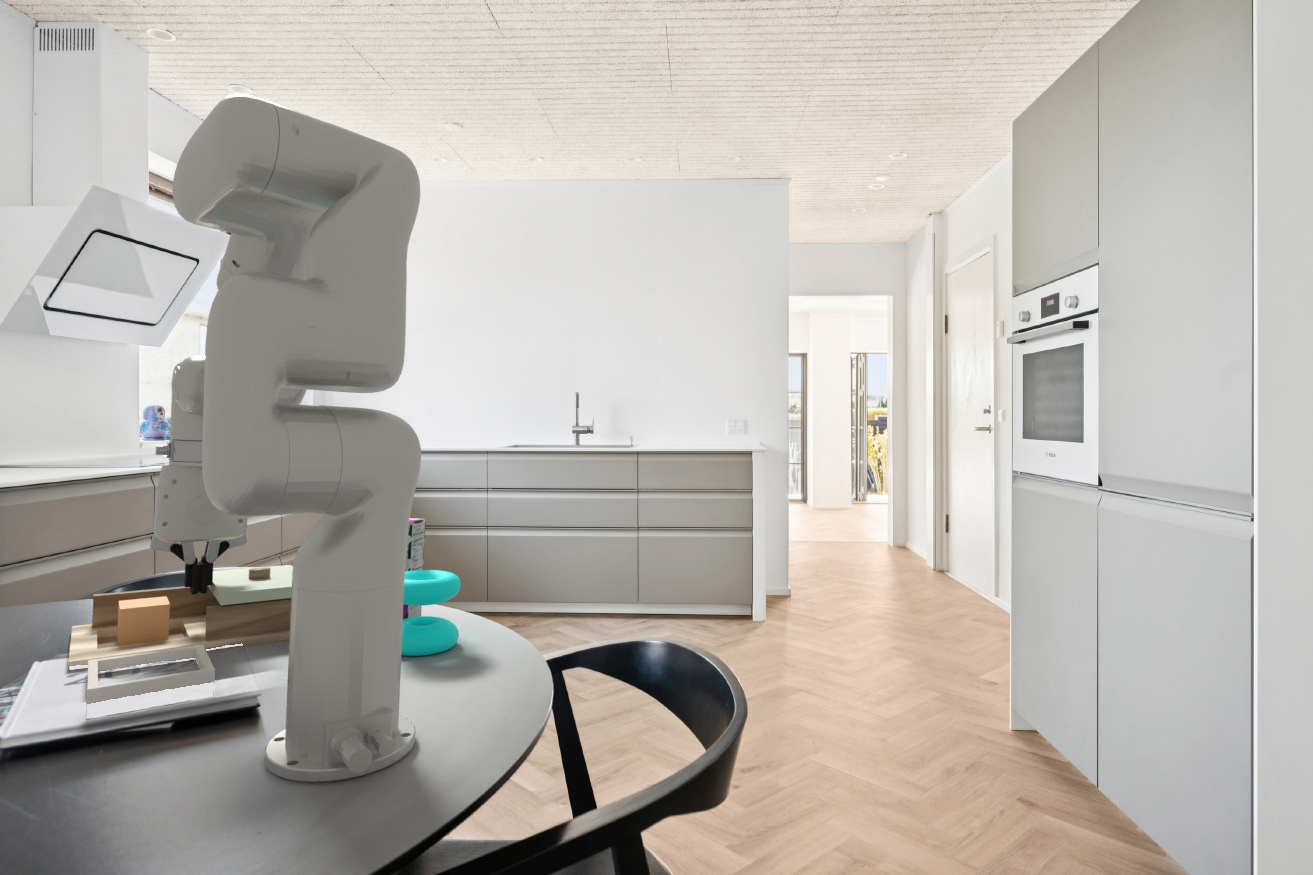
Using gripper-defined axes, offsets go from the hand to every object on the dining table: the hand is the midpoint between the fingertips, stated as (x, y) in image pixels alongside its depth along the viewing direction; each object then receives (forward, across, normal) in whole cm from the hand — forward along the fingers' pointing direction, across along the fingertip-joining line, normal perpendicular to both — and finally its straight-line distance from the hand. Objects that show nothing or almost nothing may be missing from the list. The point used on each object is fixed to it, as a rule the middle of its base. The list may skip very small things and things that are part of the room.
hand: (198, 591), depth 90 cm
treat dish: (+7, -6, -16) cm, 18 cm away
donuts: (+8, +24, -16) cm, 30 cm away
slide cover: (0, +7, 0) cm, 7 cm away
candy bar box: (+8, +23, -2) cm, 25 cm away
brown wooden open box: (+7, +1, 0) cm, 7 cm away
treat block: (+6, -6, 0) cm, 8 cm away
